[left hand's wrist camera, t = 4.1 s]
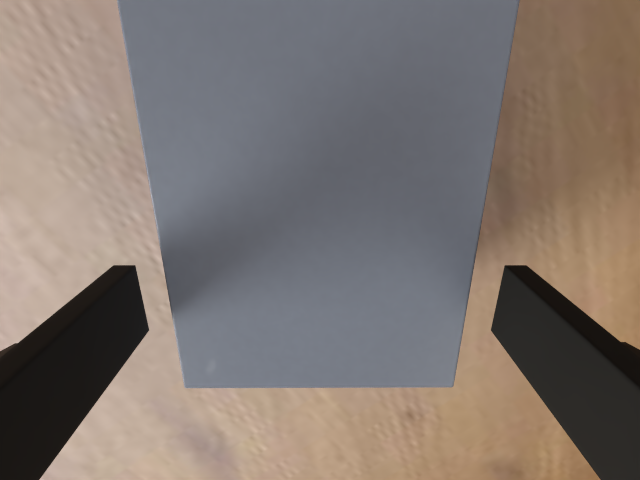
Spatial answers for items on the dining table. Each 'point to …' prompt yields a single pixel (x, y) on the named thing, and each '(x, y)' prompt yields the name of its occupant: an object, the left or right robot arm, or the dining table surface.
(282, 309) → the cabinet
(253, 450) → the dining table surface
